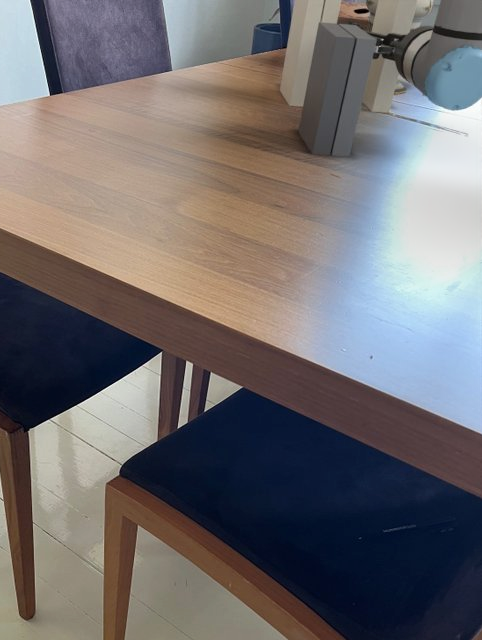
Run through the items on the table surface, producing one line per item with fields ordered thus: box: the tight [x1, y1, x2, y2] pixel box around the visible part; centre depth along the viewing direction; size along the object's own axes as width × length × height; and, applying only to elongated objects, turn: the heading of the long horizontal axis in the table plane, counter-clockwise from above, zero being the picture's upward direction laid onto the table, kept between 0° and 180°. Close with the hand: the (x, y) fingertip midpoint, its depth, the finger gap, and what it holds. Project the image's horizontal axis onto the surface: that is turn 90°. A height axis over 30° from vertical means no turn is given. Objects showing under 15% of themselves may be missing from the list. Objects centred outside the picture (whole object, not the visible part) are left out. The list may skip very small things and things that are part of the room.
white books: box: [279, 0, 342, 108], centre depth 123 cm, size 5×11×17 cm, turn 0°
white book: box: [362, 0, 418, 114], centre depth 123 cm, size 3×11×17 cm, turn 0°
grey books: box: [297, 22, 377, 157], centre depth 100 cm, size 5×11×15 cm, turn 0°
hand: (389, 33), depth 123 cm, fingers open, 13 cm apart
